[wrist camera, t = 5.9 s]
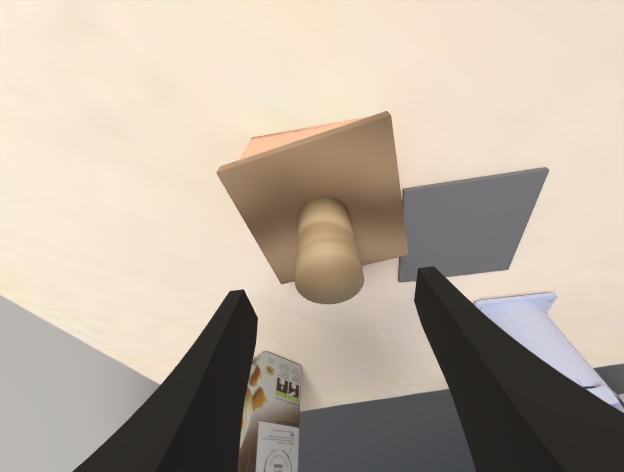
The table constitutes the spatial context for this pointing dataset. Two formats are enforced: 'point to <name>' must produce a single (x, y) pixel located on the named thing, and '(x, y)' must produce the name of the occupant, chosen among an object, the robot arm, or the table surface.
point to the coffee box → (271, 416)
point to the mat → (468, 223)
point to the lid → (324, 206)
